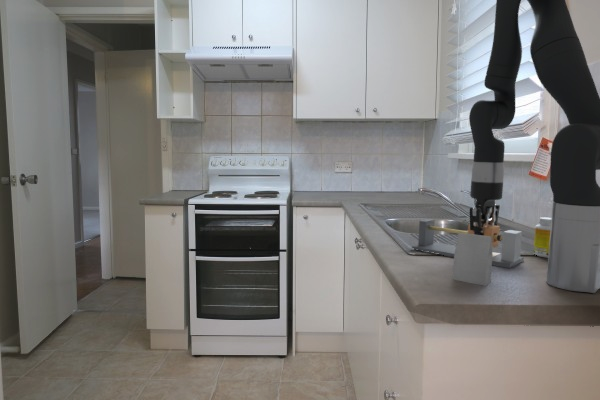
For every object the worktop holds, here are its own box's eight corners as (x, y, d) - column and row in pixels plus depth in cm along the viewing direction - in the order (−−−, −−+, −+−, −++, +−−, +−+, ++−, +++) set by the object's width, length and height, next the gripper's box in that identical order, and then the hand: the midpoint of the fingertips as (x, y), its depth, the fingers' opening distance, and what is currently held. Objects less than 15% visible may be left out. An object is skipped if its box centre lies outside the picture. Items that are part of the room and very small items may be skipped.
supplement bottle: (549, 259, 114) (553, 220, 113) (529, 254, 119) (531, 217, 118) (560, 256, 117) (564, 219, 116) (539, 252, 122) (542, 216, 121)
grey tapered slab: (485, 285, 90) (489, 238, 89) (452, 279, 94) (455, 233, 93) (490, 281, 93) (493, 235, 92) (458, 275, 97) (461, 231, 96)
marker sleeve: (498, 245, 113) (499, 226, 113) (490, 248, 110) (492, 228, 109) (475, 242, 118) (476, 223, 117) (467, 244, 114) (468, 225, 113)
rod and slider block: (523, 261, 112) (525, 230, 111) (509, 268, 105) (511, 235, 104) (429, 244, 130) (430, 217, 129) (412, 249, 122) (413, 221, 122)
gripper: (491, 182, 104) (486, 252, 106) (512, 180, 114) (507, 243, 116) (460, 180, 109) (456, 247, 111) (483, 178, 119) (479, 239, 121)
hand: (482, 245), depth 114 cm, fingers closed on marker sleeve, 5 cm apart
